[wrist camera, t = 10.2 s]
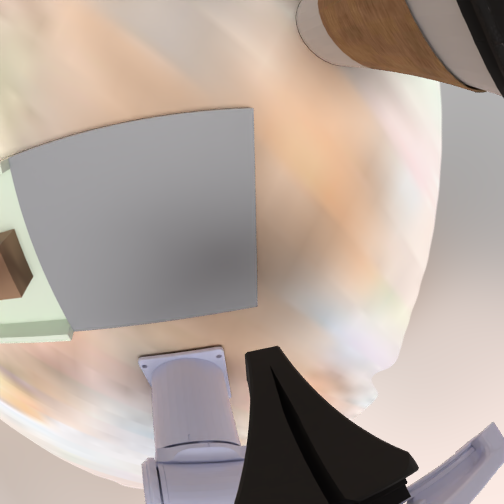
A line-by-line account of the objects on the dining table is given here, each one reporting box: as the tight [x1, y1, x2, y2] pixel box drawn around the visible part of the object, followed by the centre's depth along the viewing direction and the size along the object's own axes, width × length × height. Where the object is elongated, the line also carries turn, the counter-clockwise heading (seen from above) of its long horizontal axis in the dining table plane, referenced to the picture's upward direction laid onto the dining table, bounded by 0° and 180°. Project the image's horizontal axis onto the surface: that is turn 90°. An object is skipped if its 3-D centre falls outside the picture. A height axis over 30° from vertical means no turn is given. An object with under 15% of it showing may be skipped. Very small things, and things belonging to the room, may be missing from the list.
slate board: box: [8, 107, 258, 331], centre depth 17 cm, size 14×15×1 cm
